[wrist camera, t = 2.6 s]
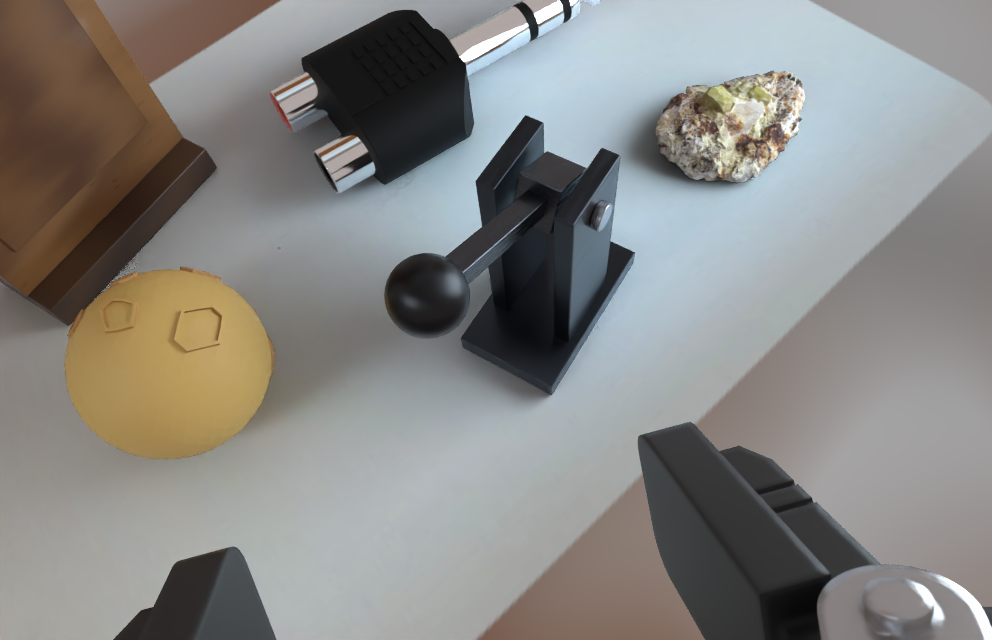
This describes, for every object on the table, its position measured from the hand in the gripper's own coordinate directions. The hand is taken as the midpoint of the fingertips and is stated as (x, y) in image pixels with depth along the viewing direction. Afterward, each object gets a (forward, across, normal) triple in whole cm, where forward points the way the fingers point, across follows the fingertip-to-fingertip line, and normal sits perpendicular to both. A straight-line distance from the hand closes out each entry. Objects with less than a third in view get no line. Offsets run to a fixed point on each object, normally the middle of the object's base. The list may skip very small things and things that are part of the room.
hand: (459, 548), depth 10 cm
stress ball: (+34, -14, -8) cm, 37 cm away
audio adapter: (+47, +6, +6) cm, 48 cm away
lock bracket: (+34, +6, -8) cm, 35 cm away
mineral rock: (+40, +22, -1) cm, 46 cm away
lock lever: (+23, +3, -2) cm, 23 cm away
